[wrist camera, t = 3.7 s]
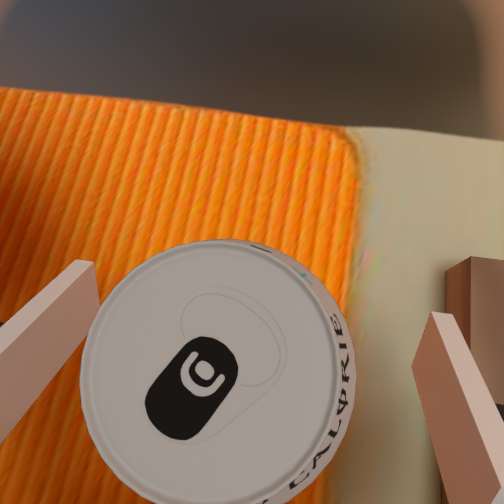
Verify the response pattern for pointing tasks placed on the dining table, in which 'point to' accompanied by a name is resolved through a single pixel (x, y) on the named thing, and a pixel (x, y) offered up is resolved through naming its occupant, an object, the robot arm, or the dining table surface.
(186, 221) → the dining table surface
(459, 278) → the walnut sill
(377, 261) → the dining table surface
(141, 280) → the energy drink can
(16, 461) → the dining table surface
